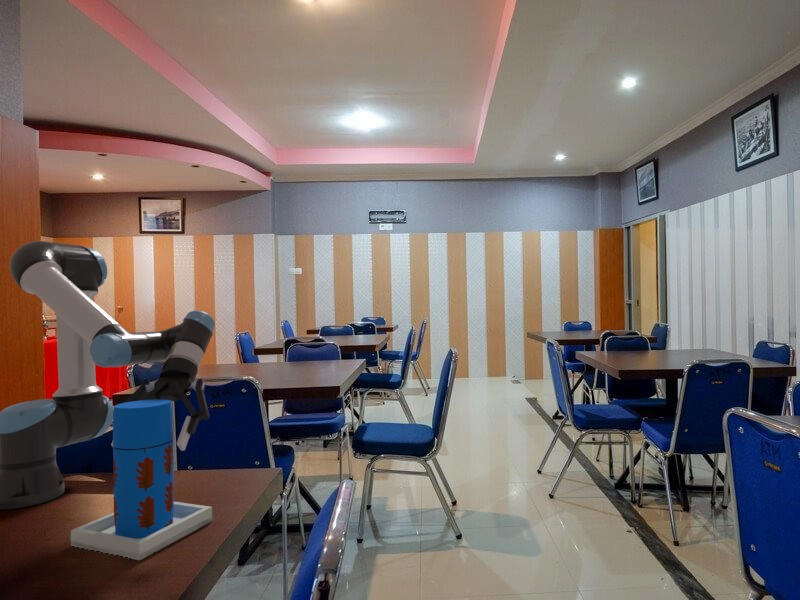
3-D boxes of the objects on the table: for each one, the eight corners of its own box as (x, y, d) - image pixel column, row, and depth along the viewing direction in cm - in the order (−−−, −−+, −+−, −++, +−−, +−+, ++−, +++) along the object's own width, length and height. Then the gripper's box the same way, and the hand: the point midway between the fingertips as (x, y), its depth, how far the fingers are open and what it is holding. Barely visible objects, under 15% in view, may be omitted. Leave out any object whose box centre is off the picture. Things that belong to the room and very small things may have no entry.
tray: (70, 546, 96) (70, 530, 97) (149, 511, 113) (148, 497, 113) (139, 560, 90) (139, 543, 90) (212, 521, 107) (211, 506, 107)
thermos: (184, 517, 106) (182, 398, 107) (155, 539, 96) (153, 408, 97) (135, 517, 107) (134, 399, 108) (101, 539, 97) (100, 409, 98)
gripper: (238, 374, 120) (213, 456, 105) (136, 376, 121) (97, 457, 106) (229, 354, 115) (201, 437, 99) (123, 356, 116) (79, 438, 101)
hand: (147, 447), depth 103 cm, fingers open, 13 cm apart
